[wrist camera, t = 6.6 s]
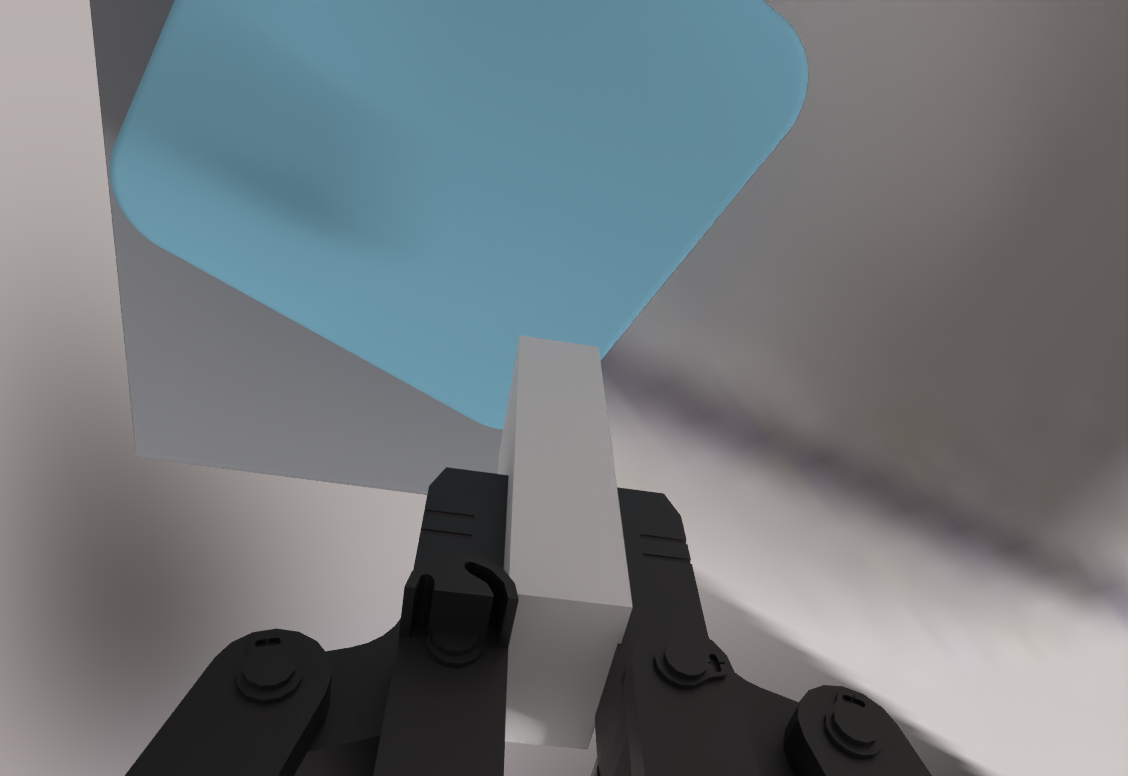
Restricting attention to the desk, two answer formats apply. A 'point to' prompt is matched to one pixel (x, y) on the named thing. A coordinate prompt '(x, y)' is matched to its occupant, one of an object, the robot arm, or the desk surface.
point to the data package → (452, 164)
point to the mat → (254, 349)
